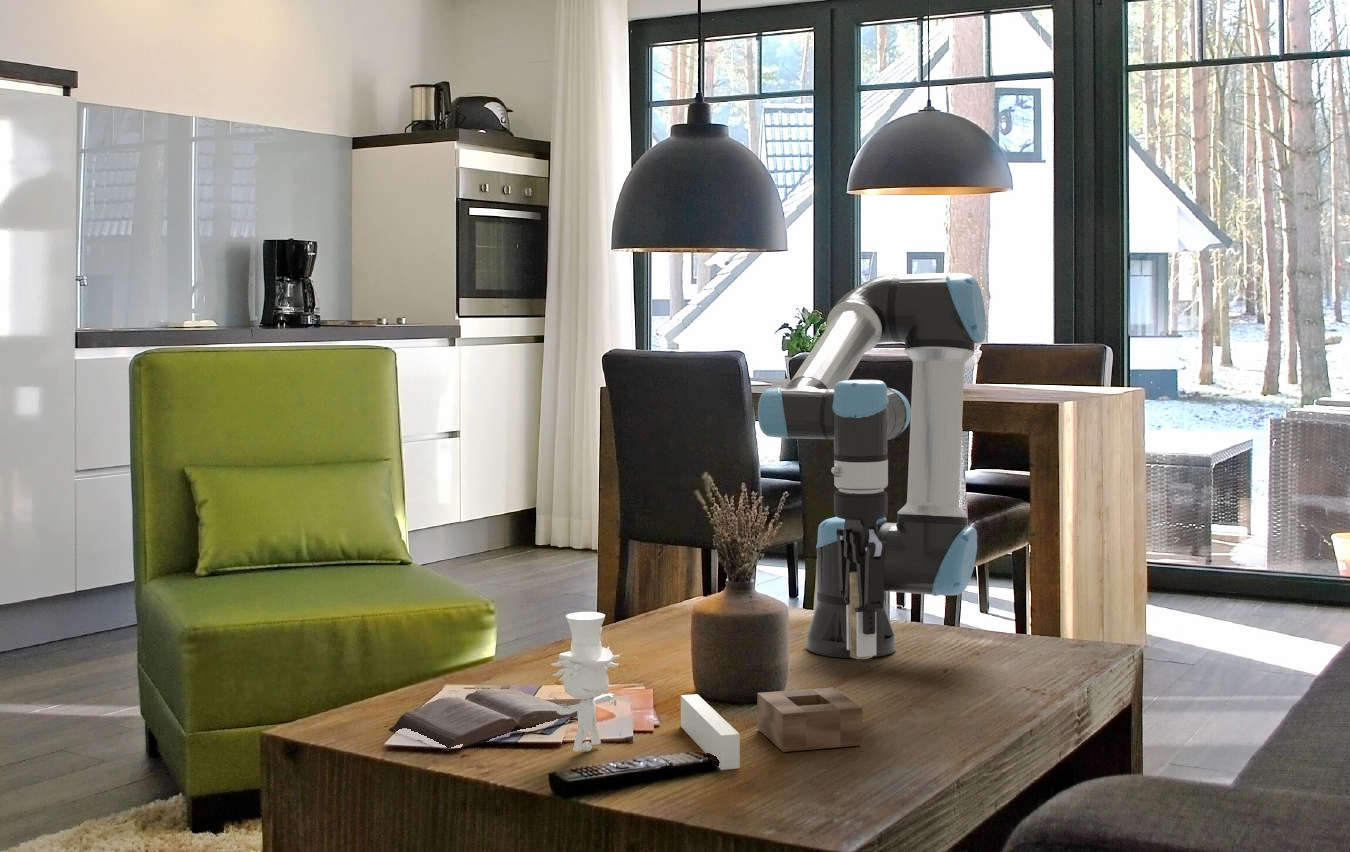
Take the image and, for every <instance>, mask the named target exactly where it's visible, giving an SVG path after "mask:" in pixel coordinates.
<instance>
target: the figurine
mask: <svg viewBox="0 0 1350 852" xmlns="http://www.w3.org/2000/svg"><path fill="white" fill-rule="evenodd" d="M565 618H566V620H567V622H568V625H569V627H570V629H569V630H570V633H571V642H570V650H569V651H565V652H562V653H559V654H558V658H559V659H558V661H557V662H553V663H550V664H551V666H553V667H555V668H557V667H563V668H560V669H559V670H557V672H556V673H553V674H552V675H553V677H558V676H561V675H562V676H561V677H560V678H559V679H558V681H559V682H563V685H562V686H563V690H564V691H565V693H566V694H567V695H569V696H571V697H573V698H575V699H578V700H580V702H579V703H577V704H576V703H575V705H569V706H564V707H563V708H561V709H558V710H557V711H556V712H557V713H558V714H560V715H565V714H571V713H574V712H576V711H578V712H577V719H578V721H577V727H578V728H577V731H576V734H575V739H574V743H573V748H572V751H573V752H580V751H584V752H586V753H588V752H590V751H591V750H592V748H593V746H596V745H600V744H601V743H602V741H601V738H600V735H599V731H598V728H597V717H596V716H597V715H596V712H597V710H596V709H597V708H596V705H598V704H604V703H608V702H611V701H613V700H614V699H615V698H616V694H614V693H606V692H608V690H609V685H610V678H609V675H608V669H609V668H617V667H618V666H619V665H620V663H614V662H613V660H617V659H618V658H620V656H621V654H617V655H614V654H613V652H612V651H611V650H610V646H607V648H606V647H604V646H602V641H601V636H602V633H603V632H602V631H603V629H604V628H603V627H602V625H603V624H604V623H603V622H604V621H605V618H606V614H604V613H602V612H595V611H580V612H579V611H578V612H572V613H571V612H570V613H568V614H566V615H565ZM590 732H591V733H590ZM589 733H590V740H591V741H585V740H586V738H587V737H588V735H589Z"/></svg>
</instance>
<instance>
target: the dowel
mask: <svg viewBox="0 0 1350 852" xmlns="http://www.w3.org/2000/svg"><path fill="white" fill-rule="evenodd" d="M854 608H859V595H858V579H857V571H856V572H851V573H850V657H852V658H851V659H856V660H868V659H872V658H874V657H873V656H864V657H858V656H857V631H856V612H855V609H854Z"/></svg>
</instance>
